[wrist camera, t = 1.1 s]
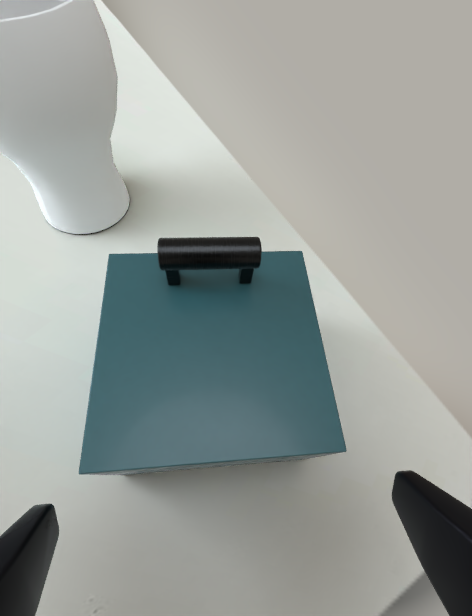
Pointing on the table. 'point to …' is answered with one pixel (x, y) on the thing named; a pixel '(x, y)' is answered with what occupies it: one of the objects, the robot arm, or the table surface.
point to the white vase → (61, 110)
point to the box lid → (207, 360)
